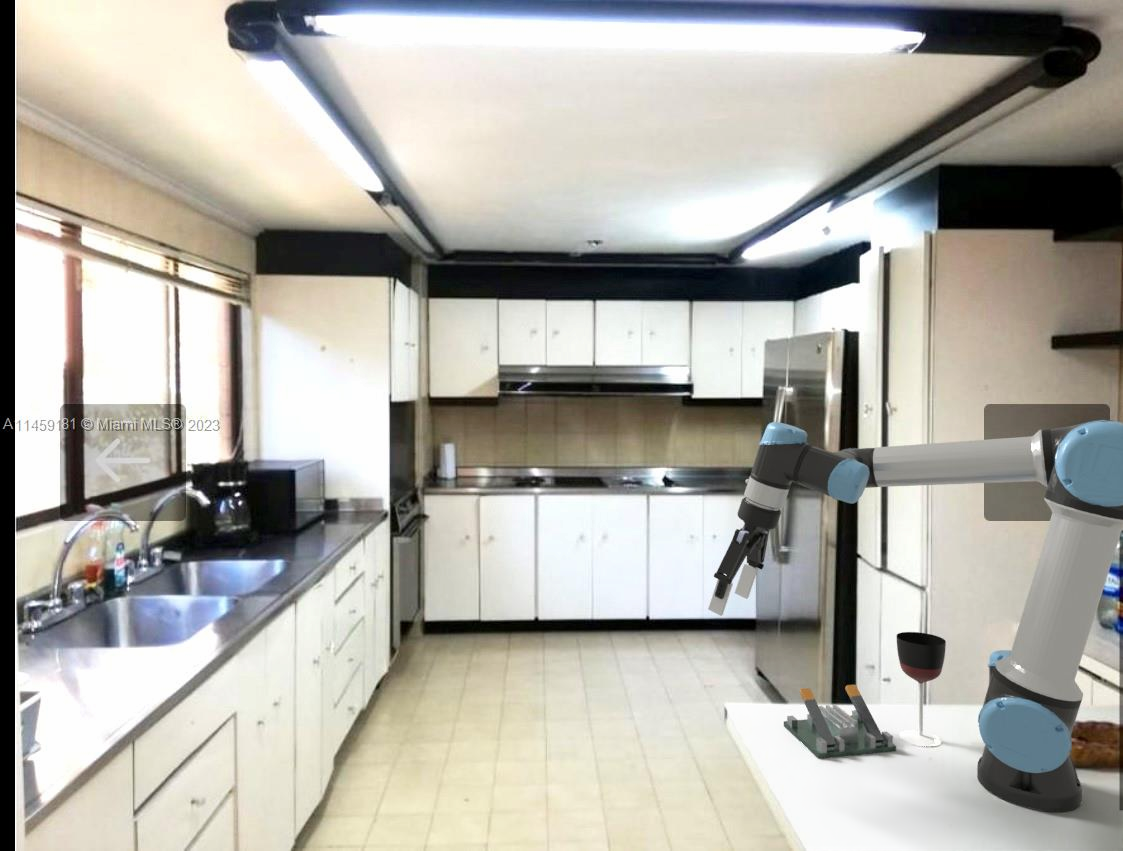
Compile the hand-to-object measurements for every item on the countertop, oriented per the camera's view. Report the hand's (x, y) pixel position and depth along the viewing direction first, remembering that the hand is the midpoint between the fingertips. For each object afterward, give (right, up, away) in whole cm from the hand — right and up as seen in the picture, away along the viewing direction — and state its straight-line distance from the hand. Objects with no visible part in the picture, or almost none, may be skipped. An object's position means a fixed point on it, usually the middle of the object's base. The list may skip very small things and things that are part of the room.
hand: (728, 603), depth 140 cm
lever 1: (+17, -23, +1) cm, 29 cm away
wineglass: (+39, -27, +2) cm, 47 cm away
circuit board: (+22, -27, +3) cm, 36 cm away
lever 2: (+27, -23, +3) cm, 36 cm away
